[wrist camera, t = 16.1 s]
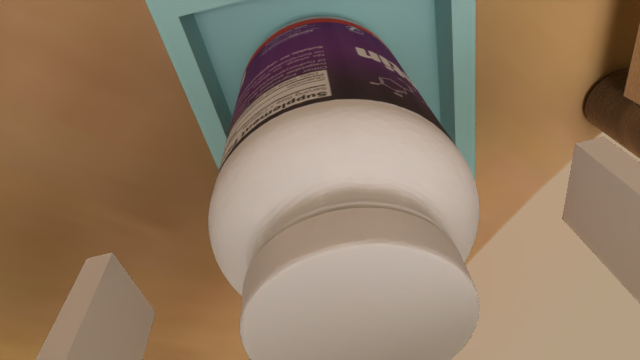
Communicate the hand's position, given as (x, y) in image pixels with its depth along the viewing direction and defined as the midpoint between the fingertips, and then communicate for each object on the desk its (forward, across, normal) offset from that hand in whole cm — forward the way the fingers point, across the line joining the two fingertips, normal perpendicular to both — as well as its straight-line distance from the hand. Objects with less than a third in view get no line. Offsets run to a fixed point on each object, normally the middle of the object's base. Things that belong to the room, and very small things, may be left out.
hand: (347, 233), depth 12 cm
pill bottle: (+11, 0, 0) cm, 11 cm away
